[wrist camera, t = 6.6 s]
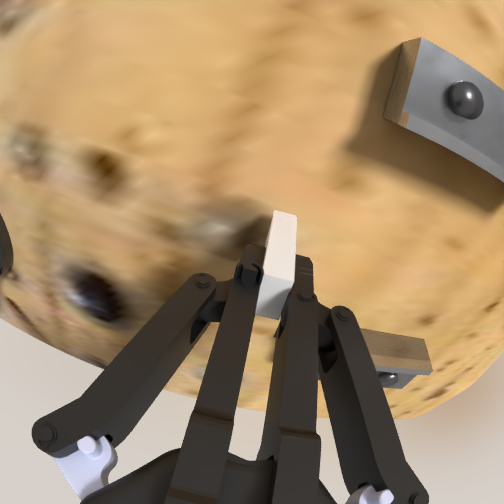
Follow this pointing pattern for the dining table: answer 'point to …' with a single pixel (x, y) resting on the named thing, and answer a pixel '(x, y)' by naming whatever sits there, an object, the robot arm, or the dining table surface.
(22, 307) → the dining table surface
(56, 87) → the dining table surface
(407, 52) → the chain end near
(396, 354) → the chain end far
